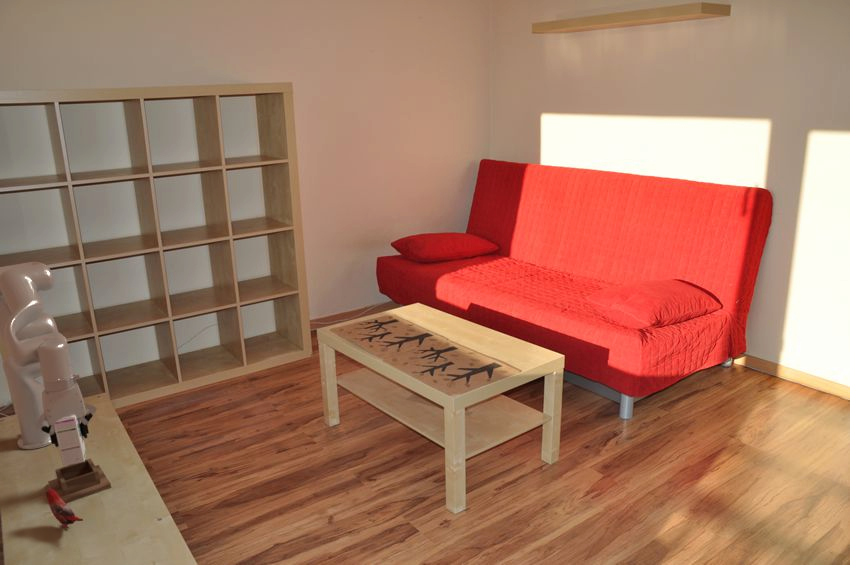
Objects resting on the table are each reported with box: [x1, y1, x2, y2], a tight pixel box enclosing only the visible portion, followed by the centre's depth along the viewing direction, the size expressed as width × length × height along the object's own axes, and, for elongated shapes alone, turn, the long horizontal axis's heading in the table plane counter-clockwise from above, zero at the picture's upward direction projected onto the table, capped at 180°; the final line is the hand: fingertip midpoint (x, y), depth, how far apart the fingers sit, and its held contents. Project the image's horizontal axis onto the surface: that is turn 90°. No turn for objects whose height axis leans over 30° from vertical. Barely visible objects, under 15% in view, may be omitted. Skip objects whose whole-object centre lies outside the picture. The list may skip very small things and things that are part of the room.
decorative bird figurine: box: [45, 488, 84, 530], centre depth 178 cm, size 3×18×10 cm, turn 55°
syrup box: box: [54, 415, 87, 467], centre depth 195 cm, size 6×6×14 cm
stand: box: [47, 458, 112, 504], centre depth 199 cm, size 14×14×5 cm
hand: (70, 440), depth 195 cm, fingers closed on syrup box, 6 cm apart
